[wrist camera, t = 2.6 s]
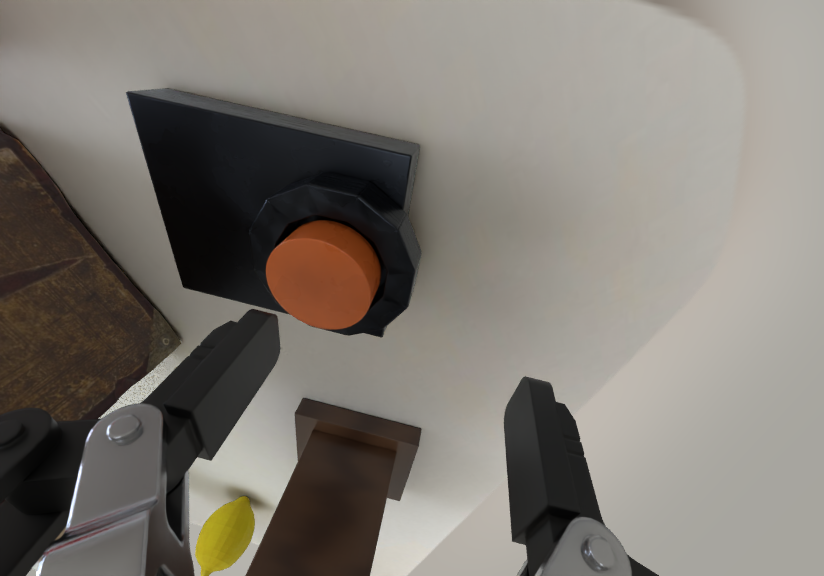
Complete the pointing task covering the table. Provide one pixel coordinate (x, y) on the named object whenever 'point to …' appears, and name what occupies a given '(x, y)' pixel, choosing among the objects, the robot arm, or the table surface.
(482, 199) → the table surface
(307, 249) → the button
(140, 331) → the book
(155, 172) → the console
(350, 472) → the pedestal
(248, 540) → the fruit
